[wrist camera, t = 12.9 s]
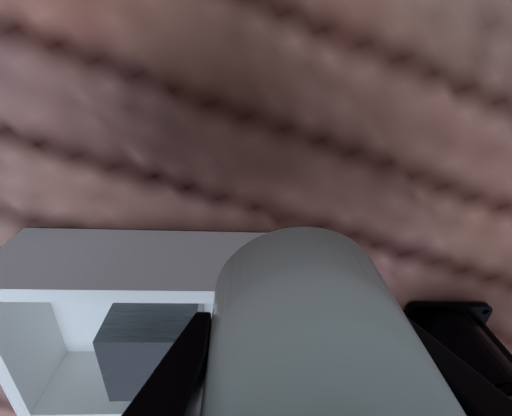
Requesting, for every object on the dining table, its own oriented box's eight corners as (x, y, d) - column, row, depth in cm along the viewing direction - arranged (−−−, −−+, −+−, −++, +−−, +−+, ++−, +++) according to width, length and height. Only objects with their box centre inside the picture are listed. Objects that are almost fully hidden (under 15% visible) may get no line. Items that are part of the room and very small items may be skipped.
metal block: (203, 278, 20) (192, 342, 16) (205, 331, 22) (196, 400, 18) (126, 277, 20) (92, 342, 15) (136, 331, 22) (109, 401, 18)
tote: (293, 233, 20) (310, 292, 15) (280, 347, 25) (288, 419, 20) (24, 227, 19) (-51, 288, 14) (66, 347, 24) (20, 422, 19)
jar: (397, 231, 8) (569, 431, 4) (357, 353, 11) (437, 567, 6) (216, 222, 8) (181, 429, 4) (213, 349, 10) (190, 574, 6)
